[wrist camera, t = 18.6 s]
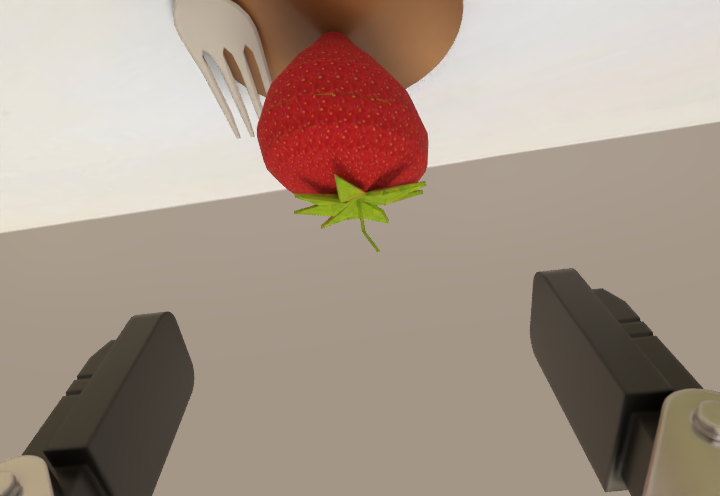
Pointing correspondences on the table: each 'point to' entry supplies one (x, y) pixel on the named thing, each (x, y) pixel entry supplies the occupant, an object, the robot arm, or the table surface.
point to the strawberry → (342, 133)
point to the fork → (214, 32)
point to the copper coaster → (353, 33)
